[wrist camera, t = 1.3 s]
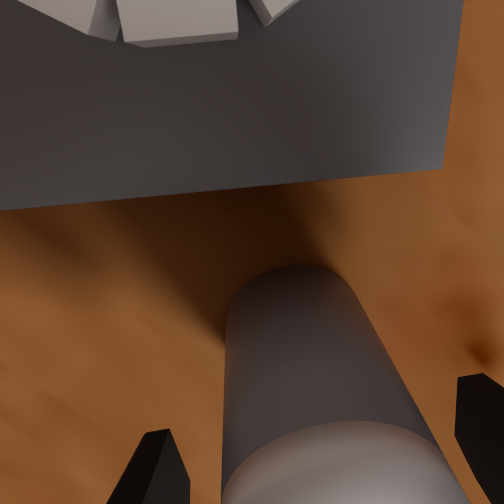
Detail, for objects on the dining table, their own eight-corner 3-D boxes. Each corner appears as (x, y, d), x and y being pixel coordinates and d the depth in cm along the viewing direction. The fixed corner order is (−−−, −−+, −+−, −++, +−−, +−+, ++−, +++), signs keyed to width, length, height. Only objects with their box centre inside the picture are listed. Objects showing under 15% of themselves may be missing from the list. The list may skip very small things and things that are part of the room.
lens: (364, 258, 13) (497, 447, 6) (359, 371, 15) (455, 600, 8) (217, 272, 13) (202, 476, 6) (233, 383, 15) (233, 621, 8)
